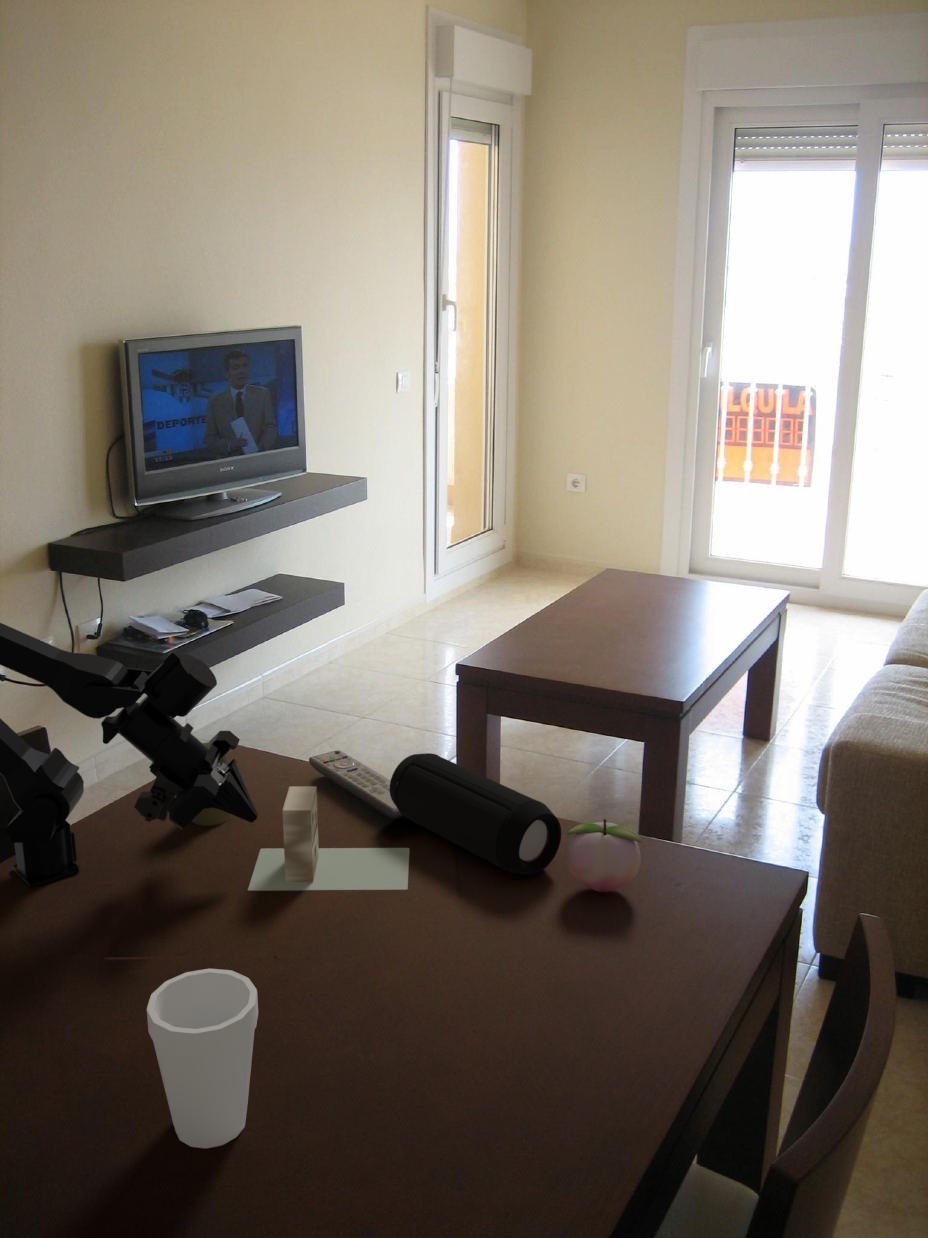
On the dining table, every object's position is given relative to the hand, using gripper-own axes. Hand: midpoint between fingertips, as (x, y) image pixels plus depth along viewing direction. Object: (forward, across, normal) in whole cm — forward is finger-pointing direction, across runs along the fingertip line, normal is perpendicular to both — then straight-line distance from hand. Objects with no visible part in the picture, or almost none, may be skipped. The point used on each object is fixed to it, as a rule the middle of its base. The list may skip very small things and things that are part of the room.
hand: (255, 819), depth 147 cm
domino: (+9, 0, -1) cm, 9 cm away
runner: (+12, 0, +2) cm, 12 cm away
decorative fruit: (+36, +6, +26) cm, 45 cm away
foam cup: (+7, +47, -4) cm, 47 cm away
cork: (-1, -16, -12) cm, 19 cm away
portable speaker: (+25, -7, +14) cm, 30 cm away
